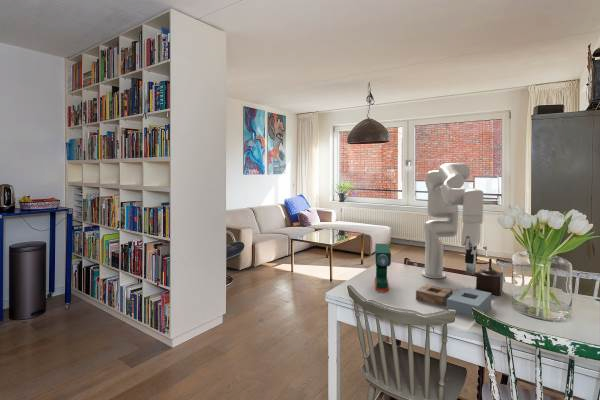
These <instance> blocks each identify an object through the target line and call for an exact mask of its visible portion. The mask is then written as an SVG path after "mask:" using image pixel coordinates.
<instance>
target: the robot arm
mask: <svg viewBox="0 0 600 400" xmlns="http://www.w3.org/2000/svg"><path fill="white" fill-rule="evenodd" d="M470 176H471V169H470V167H469V165H468V164H466V163H462V162H459V163H458V162H457V163H456V162H455V163H452V162H449V163H448V162H446V163H444V164H441V165H440V166H439V167H438V169H437V170H430V171H428V172H426V174H425V177H424V180H425V181H424V182H425V186H426V190H427V214H428V215H427V216H429V218H433V219H431V220H427V221H425V222H424V224H423V231H424V241H425V242H424V243H425V244H424V245H425V246H424V251H425V252H424V270H423V271H421V276H423V277H424V278H425V277H426V278H427V279H428V278H430V279H436V280H437V279H444V278H446V276H447V275H446V273H445V272H443V270H444V244H443V242H442V241H441V239H440V238H454V237H456V236H457V234H458V230H459V229H458V227H459V206H462V221H461V222H462V223H463V225H462V232H461V243H460V244H461V246H462V247H464V251H465V257H464V263H465V264H466V263H470V264H473V263H474V254H473V249H476V262H478V256H477V254H478V245H480V243H481V242H480V241H481V224H483V221H484V219H483V218H484V191H483V190H481V189H477V188H471V187H470V188H467V187H463V186H464V184H465V182H466V181H468V180H469V178H470ZM435 218H436V219H435Z"/></svg>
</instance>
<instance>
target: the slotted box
mask: <svg viewBox="0 0 600 400" xmlns="http://www.w3.org/2000/svg"><path fill="white" fill-rule="evenodd" d="M472 307H475V308H476V309H478V310H480V311H482V312H484V314H486V313H487V311H488V310H489V309H490V308H491V307H492V295H491V293H489V292H484V291H480V290H476V288H471V287H465V286H462V287H460V288H459V289H458V290H456V291H455V292H454V293H452V295H451V296H450V297H449V298H447V303H446V310H448V309H454V310H456V313H455V314H458V315H462V316H466V317H470V318H473V314H472Z"/></svg>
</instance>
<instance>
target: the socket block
mask: <svg viewBox="0 0 600 400" xmlns="http://www.w3.org/2000/svg"><path fill="white" fill-rule="evenodd" d="M453 291H454V290H453V289H451V288H445V287H443V286H442V287H441V286H438V285H431V284H429V283H427V284H424V285H422V286H421V287H420V288H417V289H416V290H415V300H417V301H422V302H425V303H429V304H433V305H436V306H437V305H438V306H441V307H443V306H445V305H447V298H449V297H450V296H451V295H453V294H454V293H453Z"/></svg>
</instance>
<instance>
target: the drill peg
mask: <svg viewBox="0 0 600 400" xmlns="http://www.w3.org/2000/svg"><path fill="white" fill-rule="evenodd" d="M473 254H474V263H473V264H470V263H465V273H466V274H469V275H475V274H476V265H477V264H476V262H477V261H476V249H473Z"/></svg>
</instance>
